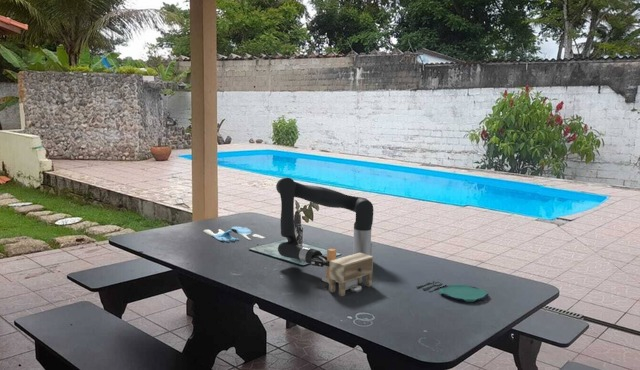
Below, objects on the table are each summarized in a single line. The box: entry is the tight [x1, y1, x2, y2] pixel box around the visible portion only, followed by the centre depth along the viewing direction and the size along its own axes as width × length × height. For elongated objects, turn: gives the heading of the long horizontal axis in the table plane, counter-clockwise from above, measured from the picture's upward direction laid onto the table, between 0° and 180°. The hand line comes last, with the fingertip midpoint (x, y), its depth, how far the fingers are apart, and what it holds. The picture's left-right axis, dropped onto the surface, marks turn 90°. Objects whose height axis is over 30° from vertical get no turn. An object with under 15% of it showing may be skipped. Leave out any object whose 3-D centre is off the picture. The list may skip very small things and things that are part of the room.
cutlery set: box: [415, 280, 489, 303], centre depth 241 cm, size 20×30×2 cm, turn 46°
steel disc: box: [349, 284, 363, 293], centre depth 241 cm, size 5×5×2 cm
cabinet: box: [328, 253, 374, 297], centre depth 241 cm, size 10×20×14 cm, turn 134°
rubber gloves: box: [203, 226, 266, 243], centre depth 332 cm, size 27×33×6 cm
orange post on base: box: [321, 248, 358, 291], centre depth 247 cm, size 16×8×15 cm, turn 44°
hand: (335, 264), depth 248 cm, fingers closed on orange post on base, 3 cm apart
